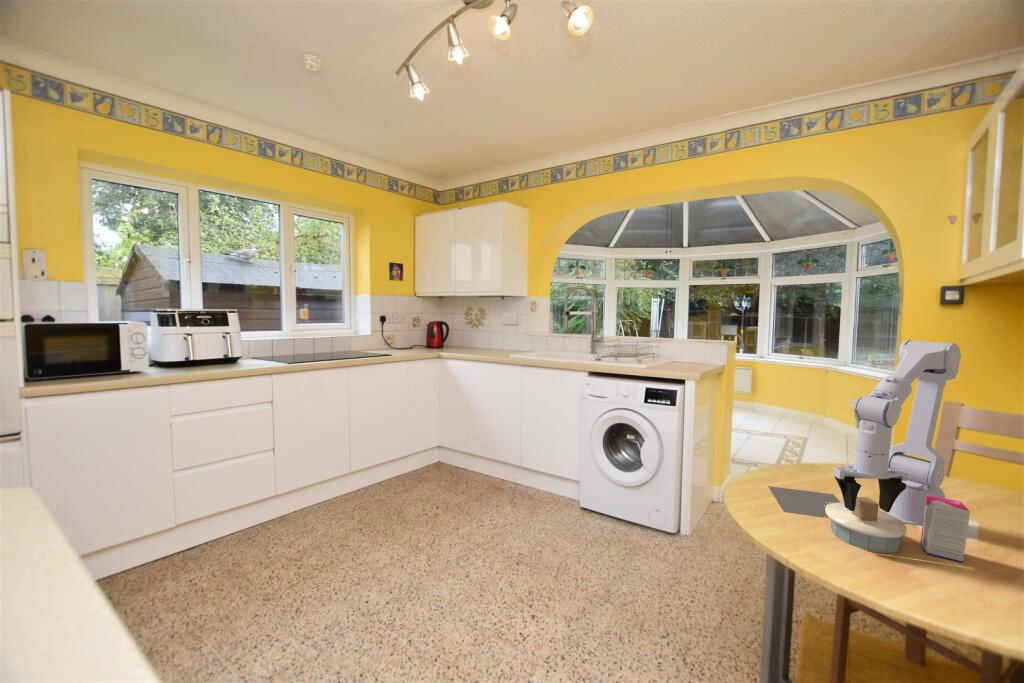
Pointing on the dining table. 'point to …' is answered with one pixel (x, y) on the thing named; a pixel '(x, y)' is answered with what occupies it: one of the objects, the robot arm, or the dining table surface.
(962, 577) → the dining table surface
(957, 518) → the supplement box
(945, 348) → the robot arm
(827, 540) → the dining table surface
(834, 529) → the bowl
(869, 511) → the lid
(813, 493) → the mat
